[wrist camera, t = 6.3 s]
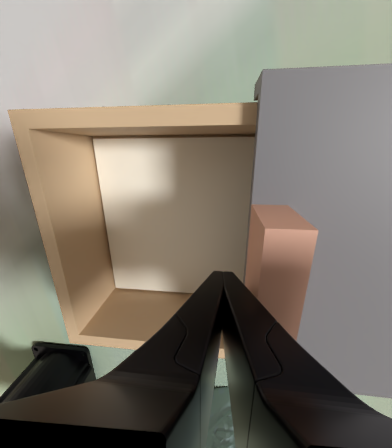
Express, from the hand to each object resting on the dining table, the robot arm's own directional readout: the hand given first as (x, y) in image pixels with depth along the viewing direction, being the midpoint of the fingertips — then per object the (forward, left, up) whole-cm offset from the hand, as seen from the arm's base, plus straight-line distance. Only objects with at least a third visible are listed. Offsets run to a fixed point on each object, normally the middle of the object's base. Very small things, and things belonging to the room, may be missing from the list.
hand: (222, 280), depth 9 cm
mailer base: (0, 0, -8) cm, 8 cm away
